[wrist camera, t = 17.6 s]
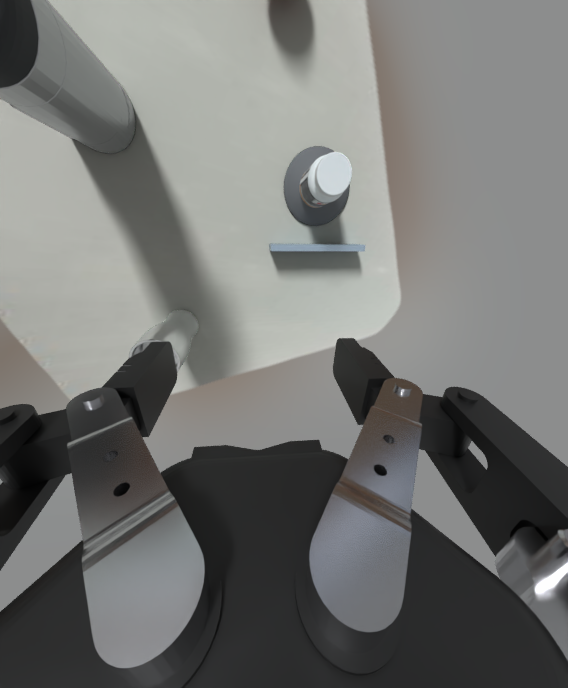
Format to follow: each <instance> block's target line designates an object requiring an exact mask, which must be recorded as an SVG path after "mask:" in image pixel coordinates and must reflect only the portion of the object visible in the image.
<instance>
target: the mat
mask: <svg viewBox="0 0 568 688" xmlns="http://www.w3.org/2000/svg"><path fill="white" fill-rule="evenodd" d="M332 152H334V151H333V150H331V149H329V148H326V147H322V146H314V147H310V148H307V149H305V150H303V151H302V152H300V153H299V154H298V155H297V156H296V157H295V158H294V159H293V160H292V162H291V164H290V165H289V167H288V169H287V172H286V175H285V180H284V196H285V200H286V203H287V206H288V208H289V210H290V211H291V213H292V214H293V215H294V216H295V217H296V218H297V219H298V220H300V221H301V222H303V223H305V224H309V225H322V224H325V223H328V222H330V221H331V220H333V219H334V218H335V217H336V216H337V215H338V214H339V213H340V212H341V211H342V209H343V207H344V206H345V204H346V201H347V198H348V194H349V187H350V184H349V186H348V187H347V189H346V190H345V191H344V192H343V194H342V195H341V196H340V197H339V198H338V199H337V200H335V201H333V202H331V203H329V204H326V205H324V206H322V207H318V208H314V207H310V206H308V205H307V204H306V203H305V202H304V201H303V199H302V198H301V195H300V181H301V179H302V177H303V175H304V173H305V172H306V171H307V170H308V168H309V167H310V166H311V165H312V164H313V163H314V161H315V160H316V159H318V158H319V157H321V156H323V155H327V154H329V153H332Z"/></svg>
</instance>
